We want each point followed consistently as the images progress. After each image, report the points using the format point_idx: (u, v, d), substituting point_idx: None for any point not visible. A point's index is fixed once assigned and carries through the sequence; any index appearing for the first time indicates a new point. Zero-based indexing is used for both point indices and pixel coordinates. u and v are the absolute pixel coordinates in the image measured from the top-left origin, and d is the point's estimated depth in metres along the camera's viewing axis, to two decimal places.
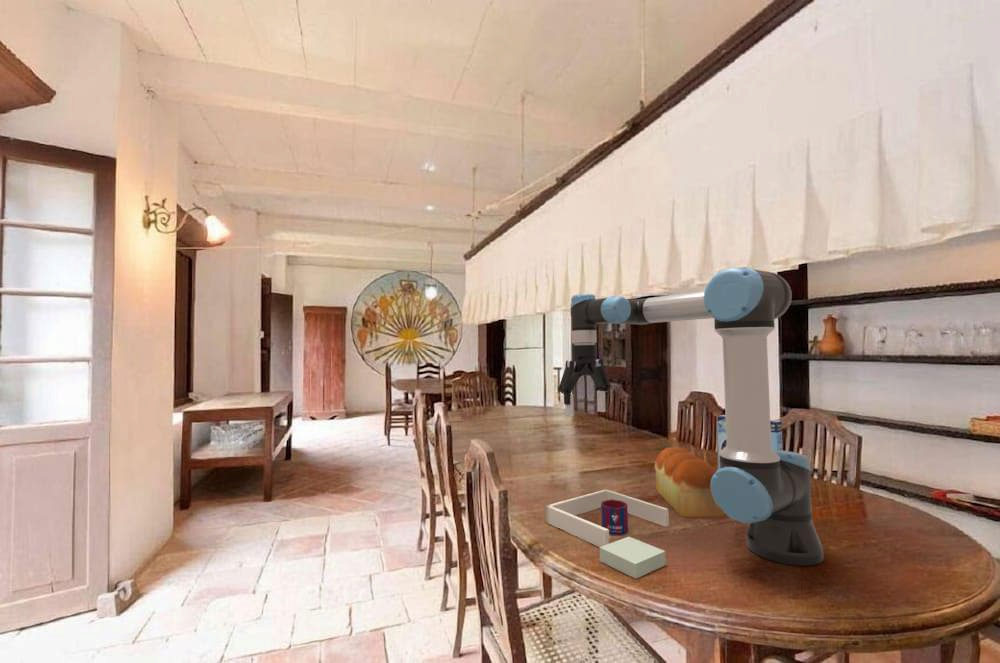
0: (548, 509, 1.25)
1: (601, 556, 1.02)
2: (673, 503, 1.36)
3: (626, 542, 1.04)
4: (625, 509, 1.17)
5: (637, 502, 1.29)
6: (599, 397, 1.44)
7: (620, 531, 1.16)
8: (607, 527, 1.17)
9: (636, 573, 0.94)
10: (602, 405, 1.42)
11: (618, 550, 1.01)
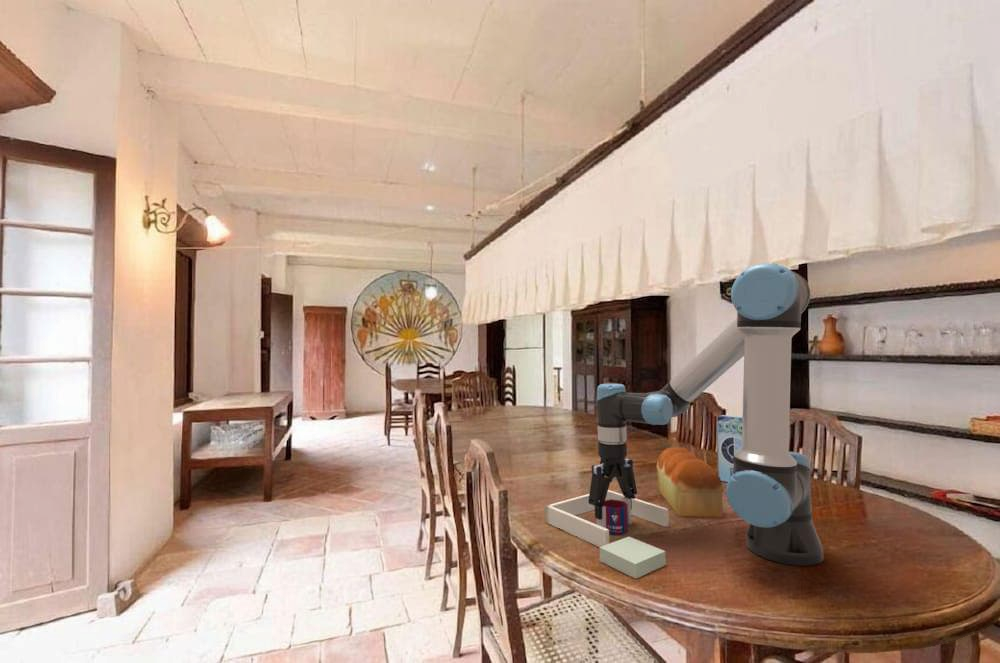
0: (548, 509, 1.25)
1: (601, 556, 1.02)
2: (671, 502, 1.36)
3: (626, 542, 1.04)
4: (625, 509, 1.17)
5: (637, 502, 1.29)
6: None
7: (620, 531, 1.16)
8: (607, 527, 1.17)
9: (636, 573, 0.94)
10: None
11: (618, 550, 1.01)
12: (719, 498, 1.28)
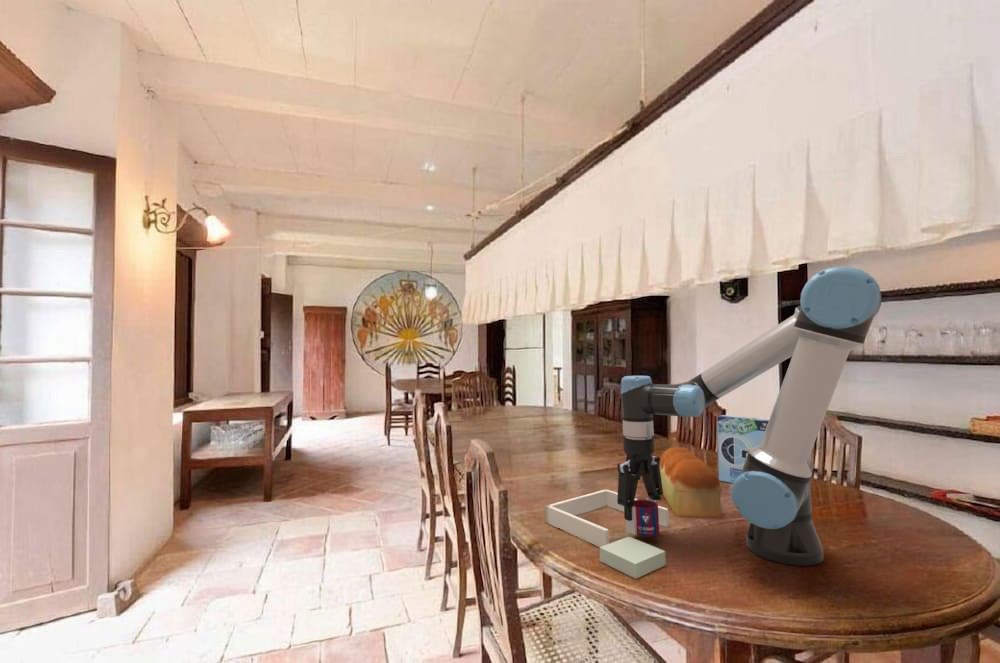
0: (548, 509, 1.25)
1: (601, 556, 1.02)
2: (670, 502, 1.36)
3: (626, 542, 1.04)
4: (656, 509, 1.11)
5: None
6: None
7: (652, 532, 1.10)
8: (637, 528, 1.11)
9: (636, 573, 0.94)
10: None
11: (618, 550, 1.01)
12: (717, 498, 1.27)
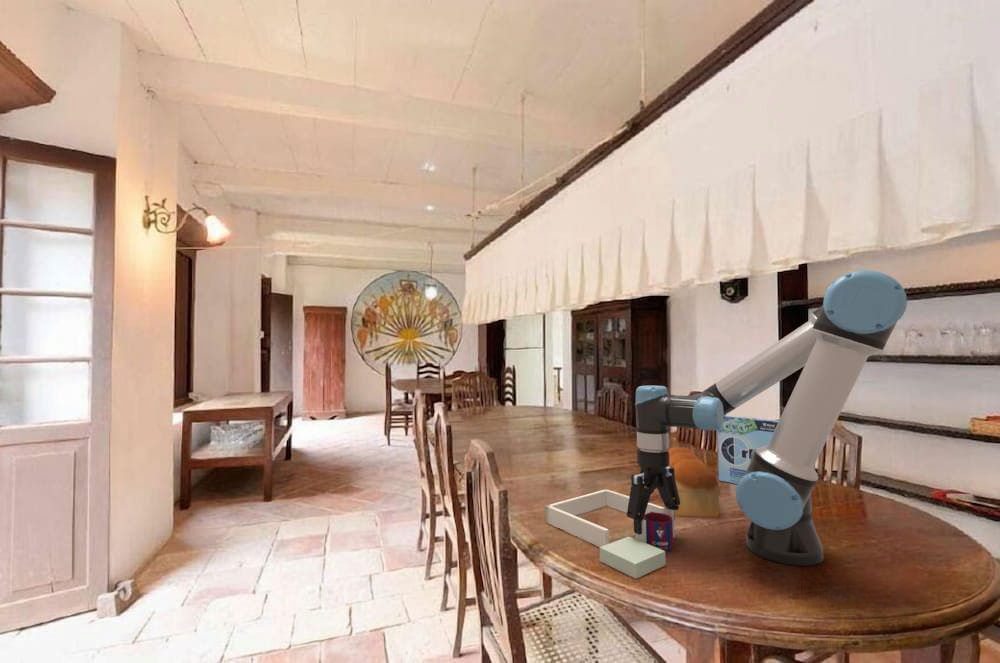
0: (548, 509, 1.25)
1: (601, 556, 1.02)
2: None
3: (626, 542, 1.04)
4: (671, 523, 1.07)
5: None
6: None
7: (666, 547, 1.06)
8: (651, 543, 1.07)
9: (636, 573, 0.94)
10: None
11: (618, 550, 1.01)
12: (715, 498, 1.27)
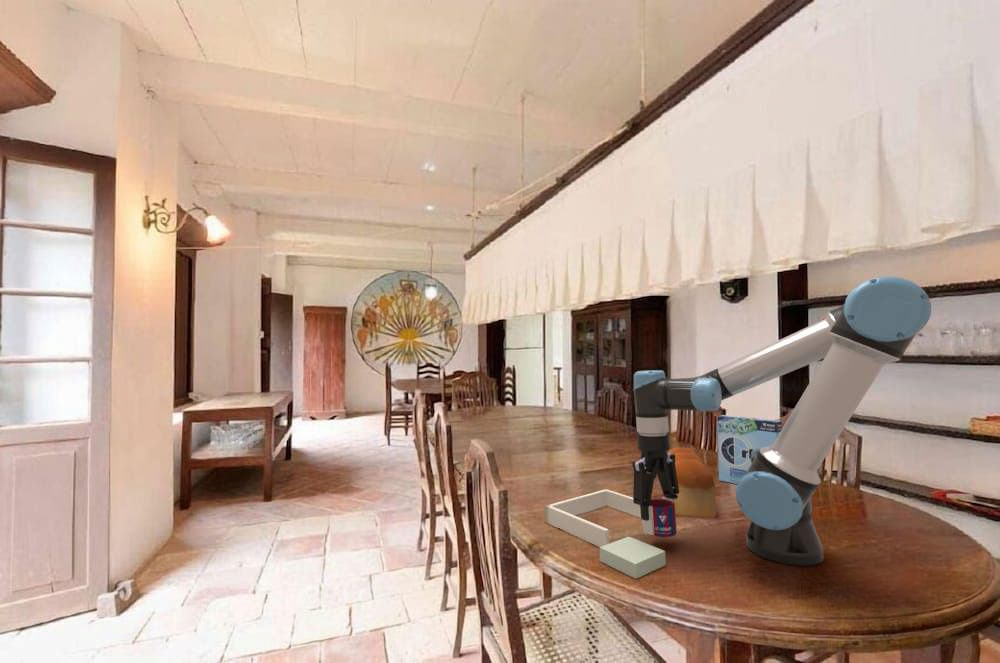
0: (548, 509, 1.25)
1: (601, 556, 1.02)
2: None
3: (626, 542, 1.04)
4: (673, 508, 1.07)
5: None
6: None
7: (669, 533, 1.06)
8: (654, 529, 1.07)
9: (636, 573, 0.94)
10: None
11: (618, 550, 1.01)
12: (712, 499, 1.27)
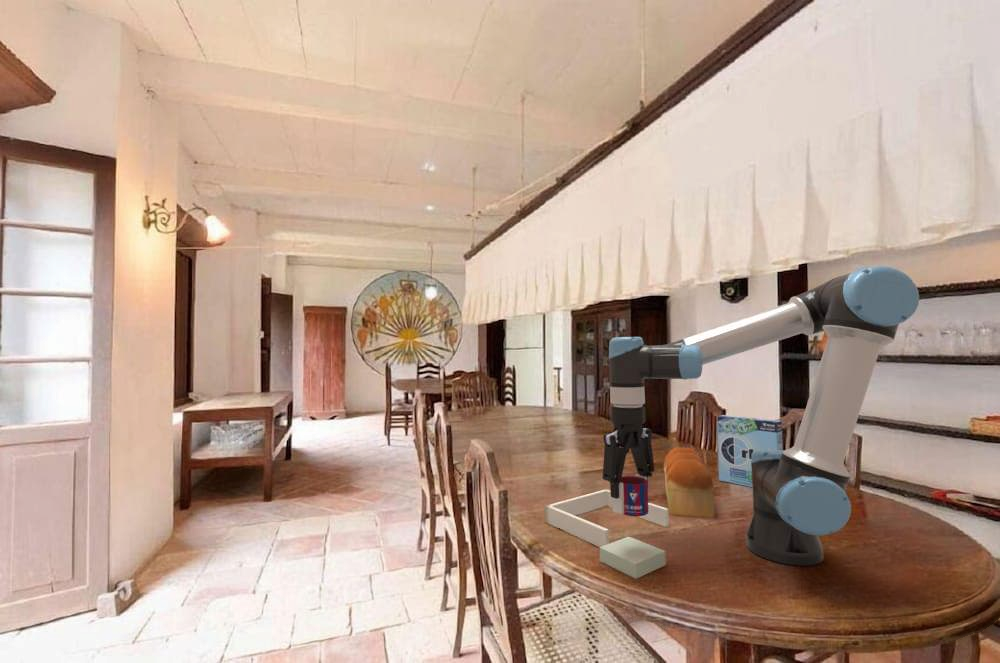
0: (548, 509, 1.25)
1: (601, 556, 1.02)
2: None
3: (626, 542, 1.04)
4: (645, 486, 0.98)
5: None
6: None
7: (640, 512, 0.97)
8: (624, 507, 0.98)
9: (636, 573, 0.94)
10: None
11: (618, 550, 1.01)
12: (711, 499, 1.27)
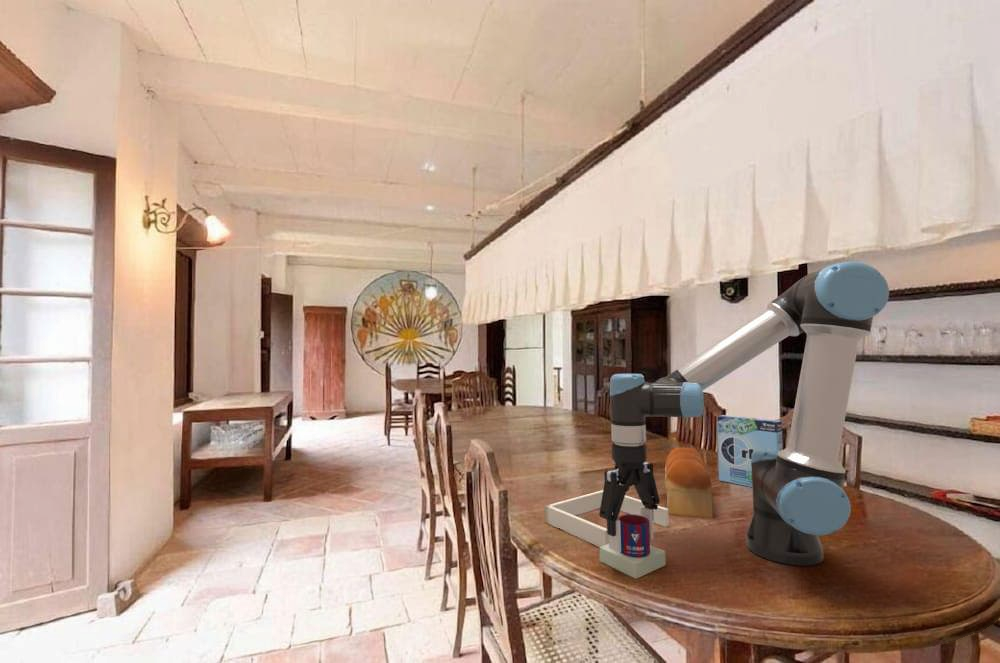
0: (548, 509, 1.25)
1: (601, 556, 1.02)
2: None
3: None
4: (647, 526, 0.98)
5: (637, 502, 1.29)
6: None
7: (642, 553, 0.97)
8: (626, 548, 0.98)
9: (636, 573, 0.94)
10: (649, 529, 1.03)
11: None
12: (709, 499, 1.27)
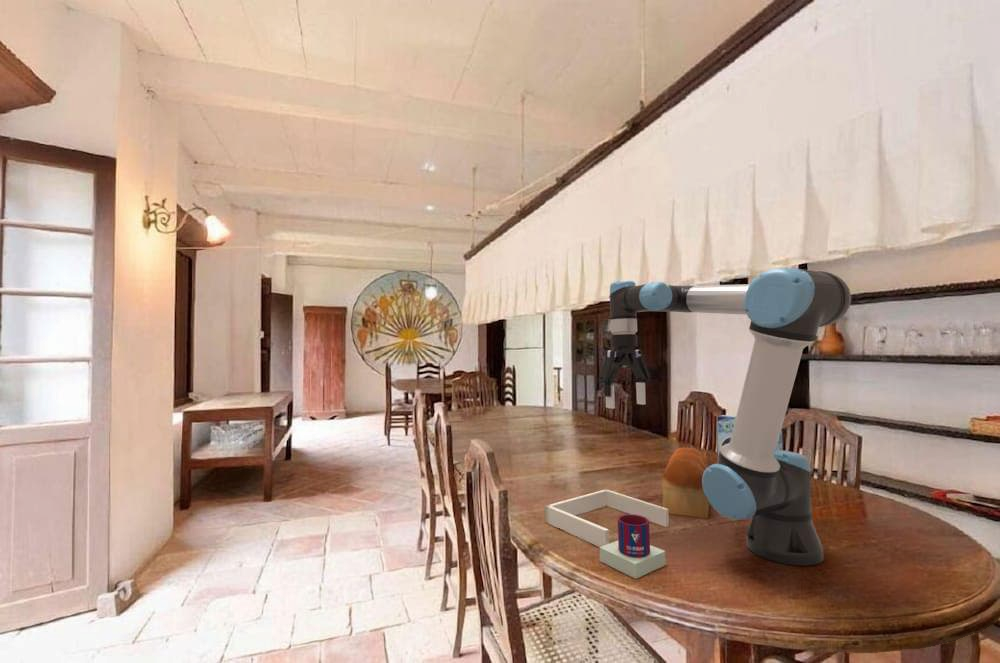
0: (548, 509, 1.25)
1: (601, 556, 1.02)
2: None
3: None
4: (647, 526, 0.98)
5: (637, 502, 1.29)
6: (638, 389, 1.38)
7: (642, 553, 0.97)
8: (626, 548, 0.98)
9: (636, 573, 0.94)
10: (642, 397, 1.36)
11: (618, 550, 1.01)
12: (704, 499, 1.27)
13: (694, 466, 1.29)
